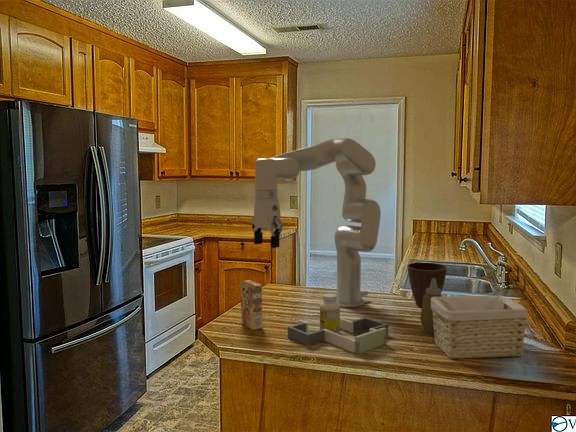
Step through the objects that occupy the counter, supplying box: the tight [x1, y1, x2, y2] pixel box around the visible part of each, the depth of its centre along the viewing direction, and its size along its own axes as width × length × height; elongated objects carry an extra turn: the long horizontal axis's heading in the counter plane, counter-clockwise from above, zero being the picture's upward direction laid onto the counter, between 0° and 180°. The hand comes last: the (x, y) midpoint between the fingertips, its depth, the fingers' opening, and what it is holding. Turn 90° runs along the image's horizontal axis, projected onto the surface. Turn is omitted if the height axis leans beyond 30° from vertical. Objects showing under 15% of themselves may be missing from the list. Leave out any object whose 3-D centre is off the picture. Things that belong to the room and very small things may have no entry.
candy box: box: [239, 279, 264, 330], centre depth 170 cm, size 9×4×15 cm, turn 33°
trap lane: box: [287, 316, 389, 355], centre depth 159 cm, size 27×27×5 cm
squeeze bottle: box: [419, 278, 444, 334], centre depth 164 cm, size 8×8×18 cm
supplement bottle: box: [319, 292, 341, 334], centre depth 162 cm, size 7×7×13 cm
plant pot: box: [407, 262, 448, 309], centre depth 193 cm, size 15×15×16 cm
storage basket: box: [431, 295, 528, 360], centre depth 147 cm, size 24×16×15 cm
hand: (266, 245), depth 166 cm, fingers open, 9 cm apart
